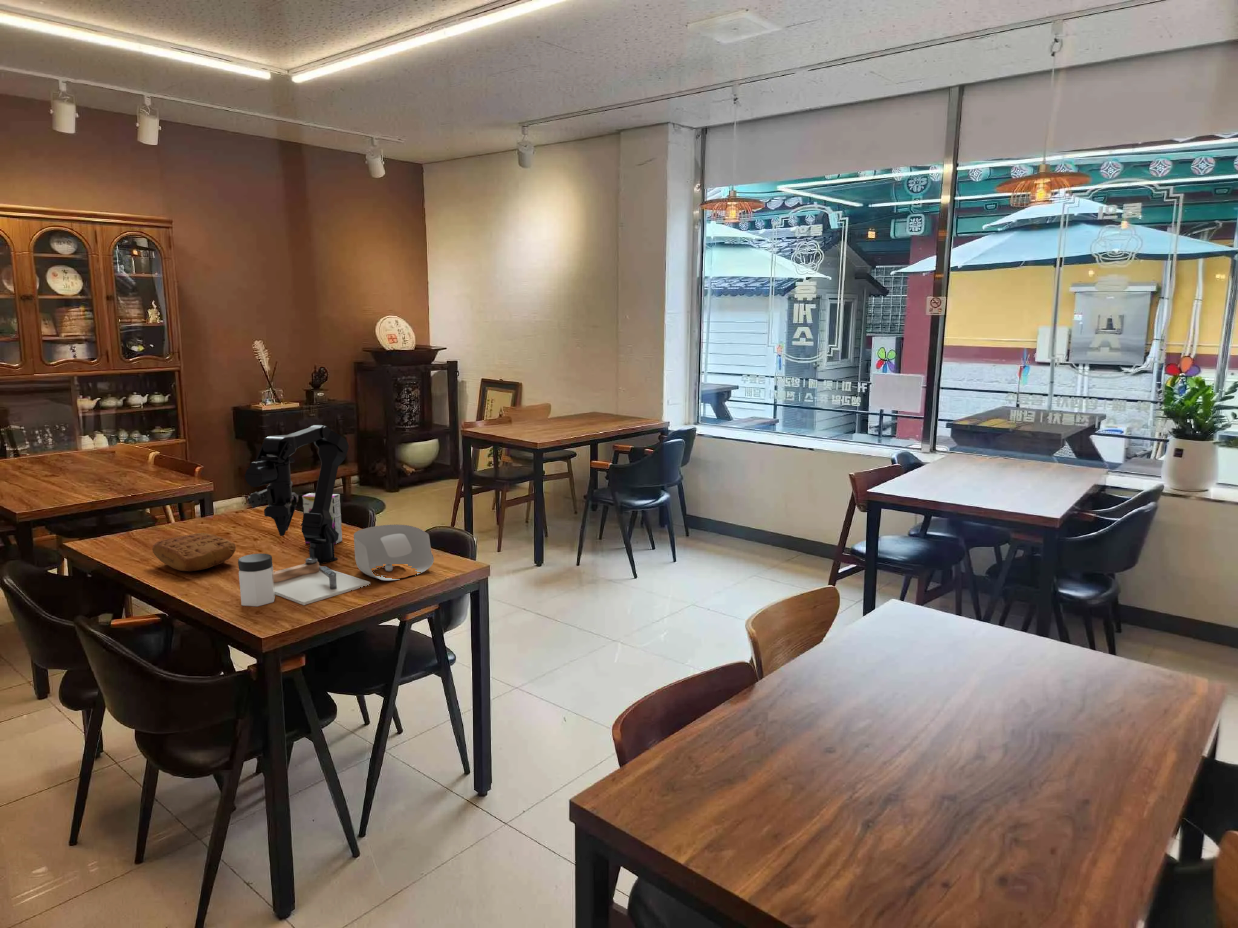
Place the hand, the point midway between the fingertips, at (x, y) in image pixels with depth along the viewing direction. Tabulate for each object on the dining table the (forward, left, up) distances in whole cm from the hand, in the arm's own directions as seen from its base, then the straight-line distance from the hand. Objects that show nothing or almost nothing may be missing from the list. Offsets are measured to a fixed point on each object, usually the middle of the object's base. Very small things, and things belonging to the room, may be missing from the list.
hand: (284, 533), depth 227 cm
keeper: (-3, +13, -12) cm, 18 cm away
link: (+1, +4, -12) cm, 13 cm away
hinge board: (0, +12, -13) cm, 18 cm away
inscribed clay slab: (+11, -32, -13) cm, 36 cm away
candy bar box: (-27, -24, -13) cm, 38 cm away
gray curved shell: (-21, +19, -13) cm, 32 cm away
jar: (+16, +13, -13) cm, 25 cm away
